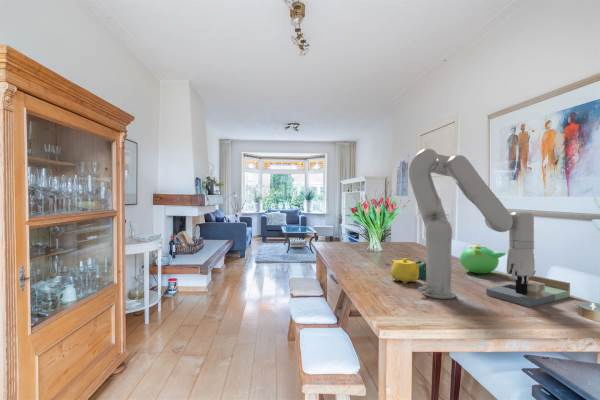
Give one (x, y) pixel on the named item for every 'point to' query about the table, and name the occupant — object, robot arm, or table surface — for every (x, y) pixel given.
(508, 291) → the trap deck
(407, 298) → the table surface
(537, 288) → the block
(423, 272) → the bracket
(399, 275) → the teapot
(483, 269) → the green rounded piece
